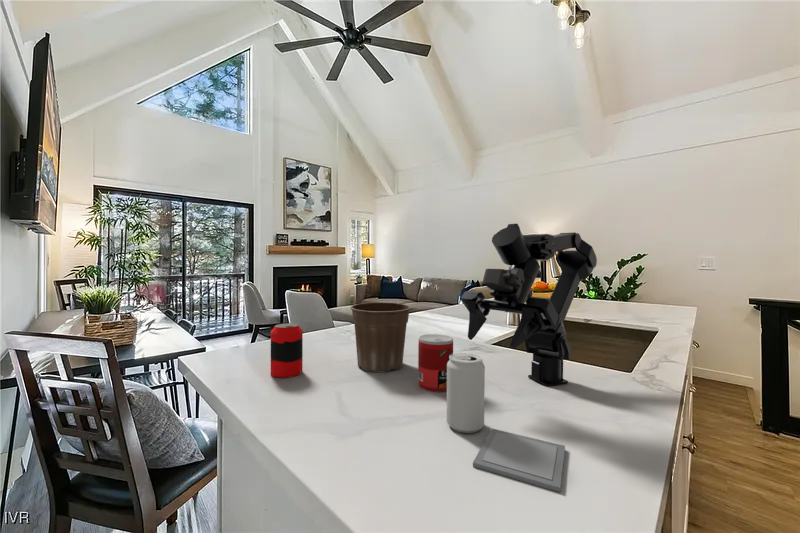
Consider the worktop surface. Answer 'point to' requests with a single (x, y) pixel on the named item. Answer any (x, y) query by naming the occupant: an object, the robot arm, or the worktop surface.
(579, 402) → the worktop surface
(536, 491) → the worktop surface
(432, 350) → the canned food
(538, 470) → the coaster
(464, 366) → the beverage can
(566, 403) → the worktop surface
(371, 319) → the plant pot
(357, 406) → the worktop surface
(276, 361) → the soda can
